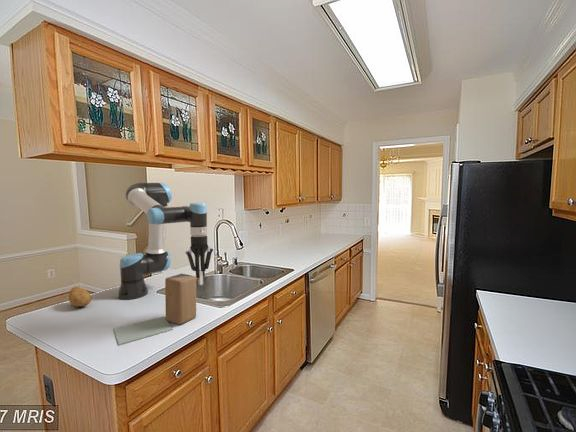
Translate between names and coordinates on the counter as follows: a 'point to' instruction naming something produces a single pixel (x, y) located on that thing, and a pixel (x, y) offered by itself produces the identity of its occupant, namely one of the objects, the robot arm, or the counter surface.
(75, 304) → the potato
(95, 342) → the counter surface
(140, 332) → the mat
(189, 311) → the wooden block
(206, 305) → the counter surface
